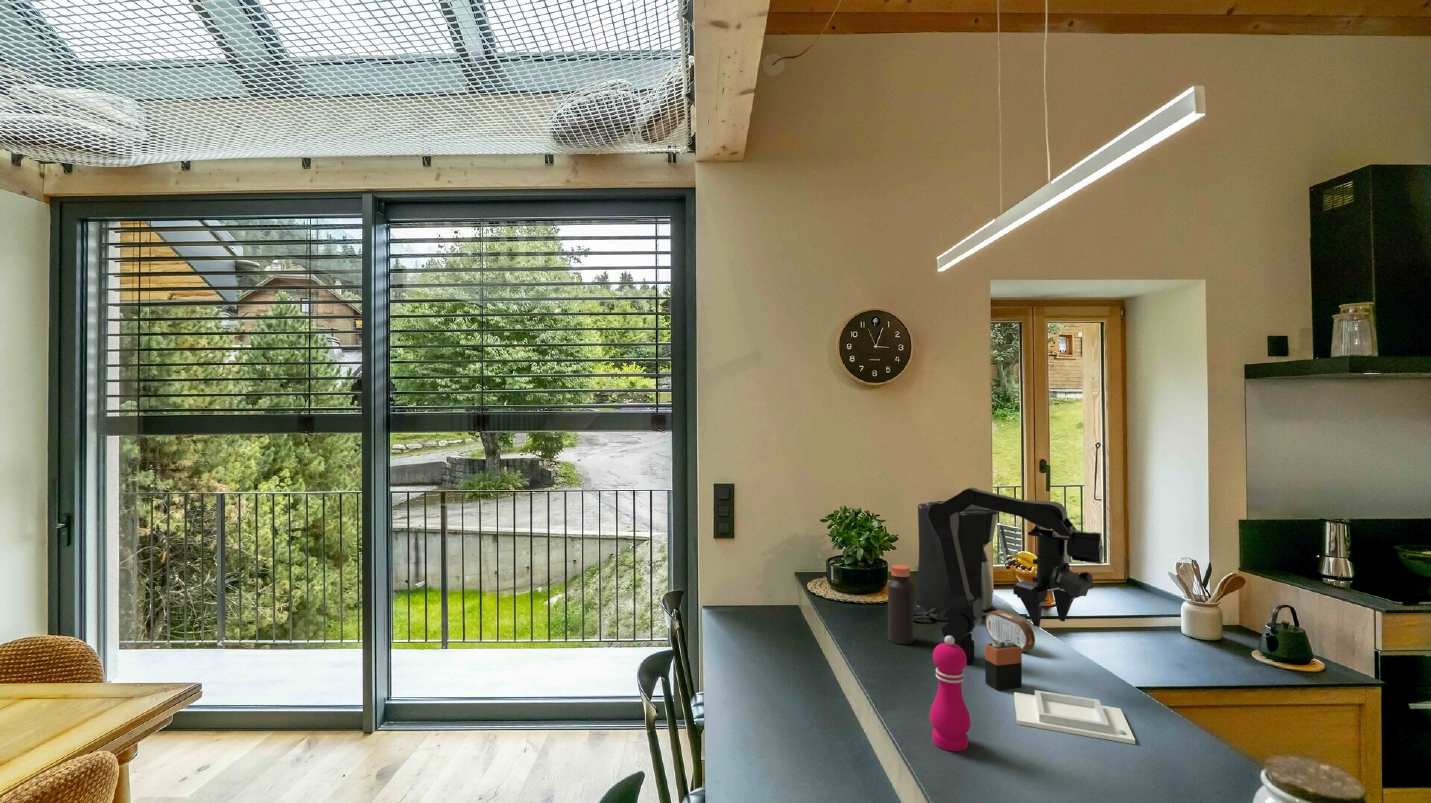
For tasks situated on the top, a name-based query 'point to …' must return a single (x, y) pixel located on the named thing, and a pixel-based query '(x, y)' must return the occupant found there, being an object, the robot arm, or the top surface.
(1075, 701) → the charging cradle
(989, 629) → the tin
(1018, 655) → the battery
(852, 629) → the top surface
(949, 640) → the pepper mill
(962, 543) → the coffee maker
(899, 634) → the bottle
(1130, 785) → the top surface
